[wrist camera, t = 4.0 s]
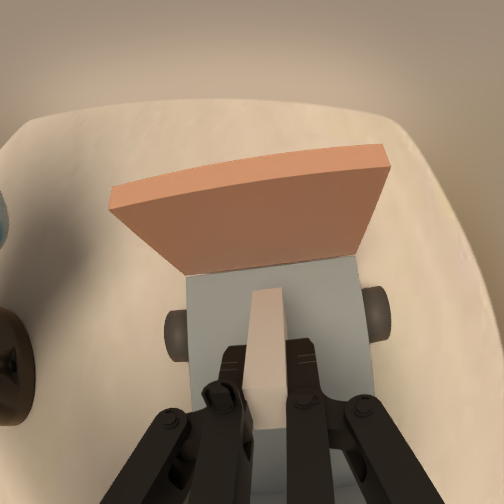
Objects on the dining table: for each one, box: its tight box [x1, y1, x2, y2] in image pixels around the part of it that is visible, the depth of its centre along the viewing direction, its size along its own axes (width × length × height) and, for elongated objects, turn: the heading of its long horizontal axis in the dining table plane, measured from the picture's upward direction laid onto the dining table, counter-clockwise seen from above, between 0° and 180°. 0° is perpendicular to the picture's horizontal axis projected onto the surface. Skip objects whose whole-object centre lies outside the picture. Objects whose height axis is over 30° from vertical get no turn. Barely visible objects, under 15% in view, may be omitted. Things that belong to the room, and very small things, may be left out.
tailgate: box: [108, 144, 391, 276], centre depth 17 cm, size 2×12×10 cm, turn 96°
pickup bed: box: [164, 256, 391, 504], centre depth 16 cm, size 22×16×10 cm
